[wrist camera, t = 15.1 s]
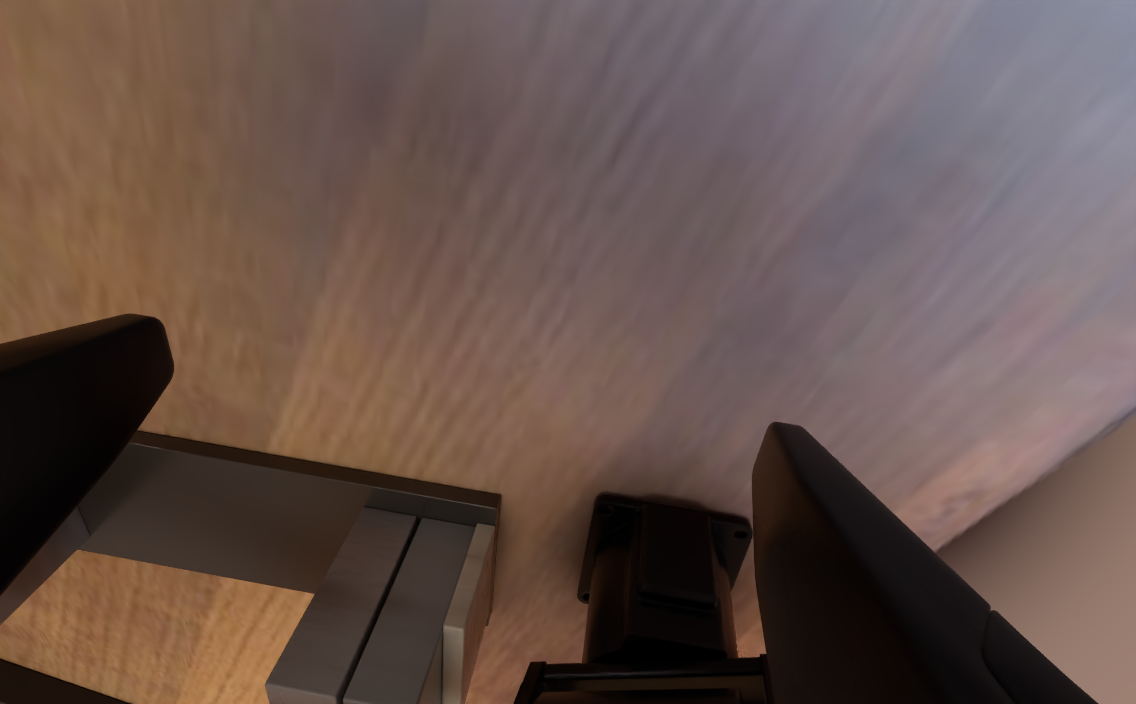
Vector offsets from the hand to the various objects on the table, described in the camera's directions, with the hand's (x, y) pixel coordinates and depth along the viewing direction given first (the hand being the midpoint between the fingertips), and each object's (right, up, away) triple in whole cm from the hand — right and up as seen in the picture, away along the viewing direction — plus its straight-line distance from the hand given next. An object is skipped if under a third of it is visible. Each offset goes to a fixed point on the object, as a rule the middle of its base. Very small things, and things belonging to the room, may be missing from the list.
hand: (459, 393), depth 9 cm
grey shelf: (-14, -7, +20) cm, 26 cm away
